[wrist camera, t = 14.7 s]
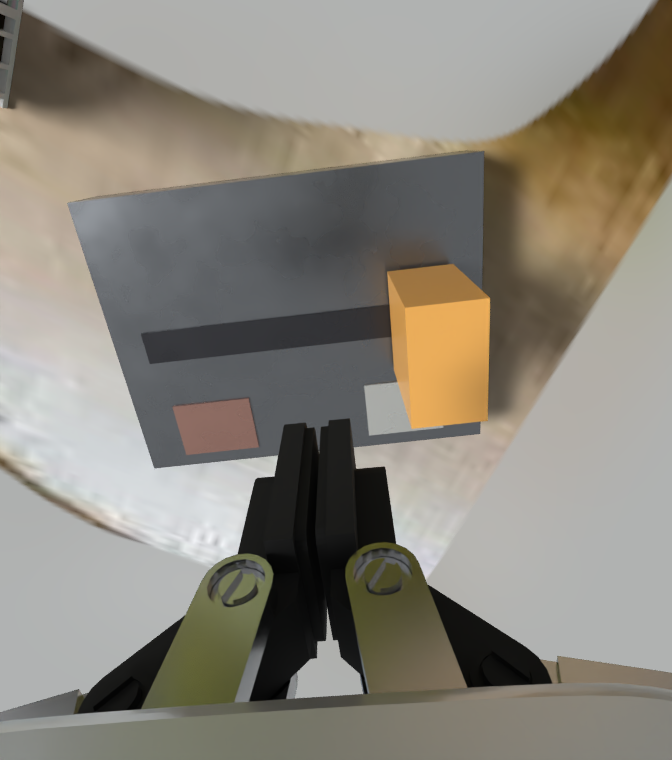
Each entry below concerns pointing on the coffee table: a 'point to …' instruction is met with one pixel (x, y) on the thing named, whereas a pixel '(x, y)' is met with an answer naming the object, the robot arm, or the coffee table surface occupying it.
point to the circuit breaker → (9, 46)
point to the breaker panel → (274, 298)
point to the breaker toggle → (440, 345)
